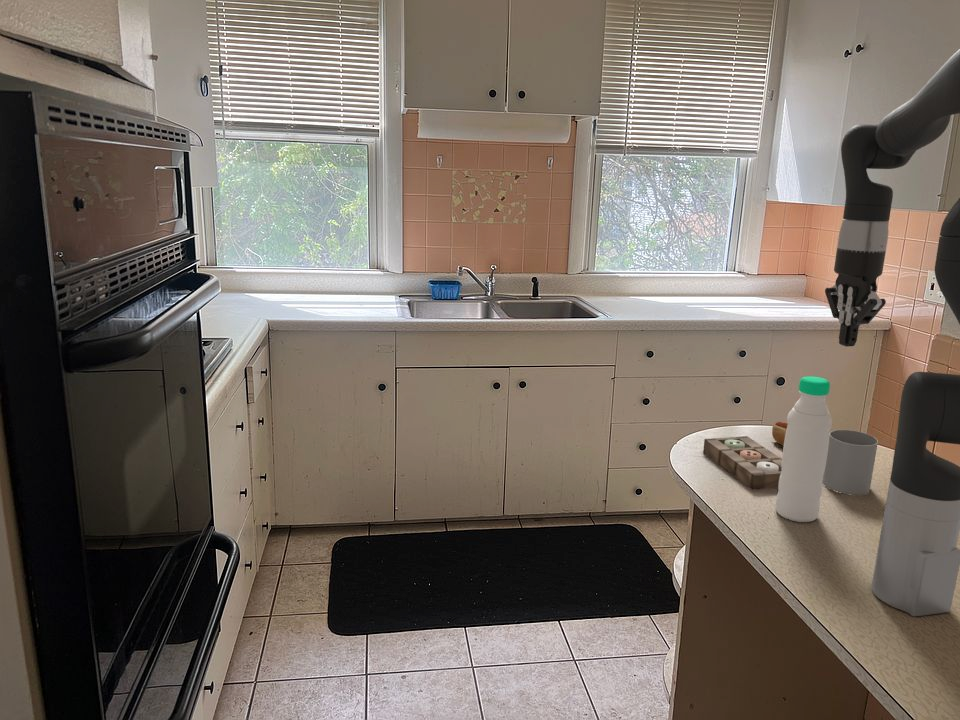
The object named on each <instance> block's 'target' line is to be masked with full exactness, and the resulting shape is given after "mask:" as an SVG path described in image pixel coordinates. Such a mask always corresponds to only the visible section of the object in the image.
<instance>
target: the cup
mask: <svg viewBox="0 0 960 720" xmlns="http://www.w3.org/2000/svg"><path fill="white" fill-rule="evenodd" d="M878 443H879V439H877V438H876V437H875V436H873V435H871V434H868V433H865V432H861V431H858V430H852V429H834V430H832V431H829V446H828V454H827V460H826V466H825V471H824V475H823V478H822V483H823V484H824V485H825V486H826V487H828V488H830V489H832V490H835V491H838V492H841V493H840V494H842V493H845V494H844V495H846V494H851V495H850V496H854V495H857V496H865V495H867V493H868V494H870V491H871V484H872V479H873V472H874V467H875V461H876V457H877V449H878ZM824 485H823V486H824ZM825 486H824V487H825ZM826 487H825V488H826ZM828 488H827V489H828ZM830 489H829V490H830ZM832 490H831V491H832ZM835 491H834V492H835ZM838 492H837V493H838Z"/></svg>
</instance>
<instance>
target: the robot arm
mask: <svg viewBox="0 0 960 720" xmlns="http://www.w3.org/2000/svg"><path fill="white" fill-rule="evenodd" d="M956 114H960V48H959V49H958V50H957V51H956V52H955V53H953V55H951V56H950V57H949V58H948V60H946V61H945V62H944V64H943V65H942V66H941V67H940V68H939V69H938V70H937V71H936V72H935V74H933V76H932V77H931V78H930V79H929V80H928V81H927V83H926V84H925V85H924V86H923V87H922V88H921V89H920V90H918V92H917V93H916V94H915V95H914V96H913V97H912V98H910V99H909V100H908V101H906V102H905V103H903V104H902V105H900V106H898V107H896V108H895V109H894V110H893V111H891V112H889V113H888V114H887V115H886V116H884V117H883V118H882V120H880V122H879V123H878V124H868V123H867V124H864V123H863V124H856V125H854V126H852V127H850V128H849V130H848V131H847V132H846V133H845V134H844V137H843V138H842V141H841V147H840V154H841V162H842V167H843V173H844V174H843V175H844V183H845V185H844V186H845V201H844V208H843V215H842V218H843V219H842V222H841V225H840V227H839V228H840V229H839V231H838V233H839V234H838V237H837V238H838V239H837V247H836V252H835V253H836V254H835V259H834V260H835V261H834V267H833V271H834V273H836V274H837V278H836V279H835V284H834V285H833V286H832V287H825V290H824V292H825V296H826V299H827V303H828V305H829V309H830V311H831V315H832V317H833V318H834V319H838V323H839V324H840V328H839V333H838V334H839V335H838V344H839V345H841V346H844V347H854V346H855V345H856V343H857V340H858V334H859V330H860V328H859V327H860V326H862V325H868V324H870V323H871V321H872V320H873V319H874V318H875V317H876V315H877V314H879V312H880V311H881V310H882V309H883V308H884V307H885V305H887V301H886V299H885V298H880V297H879V295H878V294H877V292H878V285H877V279H878V278H879V277H881V276H882V275H883V272H884V265H885V259H886V253H887V245H888V239H889V223H890V217H891V211H892V203H893V195H894V190H893V188H892V187H891V186H889V185H887V184H884V183H878V182H876V181H875V182H874V181H872V180H871V179H870V177H869V175H868V172H867V171H868V170H869V169H870V170H873V169H874V170H894V169H899V168H901V167H904V166H905V165H907V164H908V163H909V161H910V160H911V158H912V157H913V156H914V154H916V152H917V151H918V150H920V149H922V148H923V147H926V146H928V145H930V144H931V143H933V142H935V140H937V139H939V138H940V137H941V136H942V135H943V133H944V132H945V131H946V129H947V128H948V126H949V123H950V121H951V116H952V115H956ZM938 237H939V238H938V243H937V250H936V255H935V263H934V276H935V280H936V283H937V285H938V288H939V290H940V292H941V293H942V295H943V298H944V299H945V301H946V303H947V304H948V306H949V308H950V309H951V311H952V313H953V316H955V318H956V321H957V322H958V325H960V197H959V198H958V199H957V201H956V202H955V203H954V204H953V205H952V207H951V208H950V210H949V211H948V213H947V214H946V216H945V217H944V219H943V222H942V224H941V228H940V232H939V236H938ZM900 396H901V397H900V403H899V411H898V412H899V414H898V422H897V423H898V424H897V432H896V439H895V440H896V441H895V446H894V451H893V459H892V467H891V473H890V478H889V483H888V490H887V496H886V501H885V507H884V512H883V518H882V524H881V528H880V535H879V540H878V546H877V551H876V557H875V564H874V570H873V574H872V581H871V586H870V587H871V588H870V589H871V591H872V593H873V594H874V596H875V597H877V598H878V599H879V600H881V602H883V603H885V604H886V605H888V606H891V607H892V608H895V609H897V610H900V611H902V612H906V613H907V614H909V615H910V616H912V617H920V616H929V615H935V614H943V613H950V612H951V608H952V604H953V599H954V594H955V589H956V586H957V580H958V575H959V570H960V548H958V547H957V546H958V541H959V536H960V466H959V465H957V464H956V463H954V462H952V461H950V460H948V459H945V458H943V457H940V456H938V455H936V454H935V453H933V452H931V451H930V450H929V449H928V448H927V443H928V442H935V443H943V444H951V445H952V444H953V445H960V374H954V373H953V374H951V373H943V372H941V373H940V372H931V371H915V372H913V373H911V374H910V375H909V376H908V377H907V378H906V380H905V382H904V385H903V387H902V391H901V395H900Z"/></svg>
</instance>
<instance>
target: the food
mask: <svg viewBox="0 0 960 720" xmlns="http://www.w3.org/2000/svg"><path fill="white" fill-rule="evenodd" d="M787 426H788V423H787V421H784V422H782V421H778V422H776V423H775V424H773V425H772V428H771V429H772V430H771V431H772V432H771V435H772V437H773V440H774V441H775V442H776V443H777V444H778V445H780V446H782V447H784V440H785V435H786V430H787Z"/></svg>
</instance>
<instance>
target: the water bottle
mask: <svg viewBox="0 0 960 720" xmlns="http://www.w3.org/2000/svg"><path fill="white" fill-rule="evenodd" d="M798 383H799V384H798V393H799V394H800V397H799V399H798V400H797V401H796V402H795V403H794V406H793V407H792V408H791V410H789V412H788V414H787V418H786V423H788V426H787V430H786V435H785V440H784V446H782V447H783V449H782V457H781V459H782V468H781V475H780V478H779V486H778V487H779V488H778V492H777V495H776V499H775V506H774V507H775V511H776V513H778V515H779V516H781V517H783V518H784V519H786V520H788V519H789V521H793V522H797V523H810V522H814V521H815V520H816V519H817V518H818V517H819V514H820V502H821V501H820V499H821V496H822V492H823V486H824V485H823V483H822V480H823V475H824V471H825V466H826V460H827V454H828V446H829V434H830V432H831V431H830V430H831V429H832V425H833V420H832V417H831V413H830V412H829V406H828V405H827V402H826V398H827V397H828V396H829V393H830V389H831V384H830V381H829V380H828V379H826V378H823V377H818V376H810V375H809V376H803V377H801V378H800V380H799V382H798Z"/></svg>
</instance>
